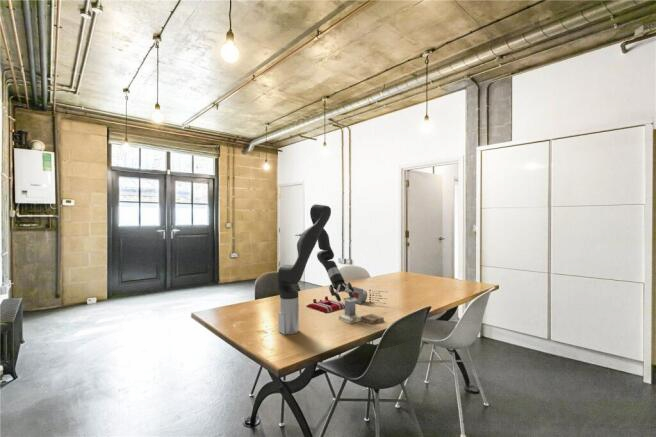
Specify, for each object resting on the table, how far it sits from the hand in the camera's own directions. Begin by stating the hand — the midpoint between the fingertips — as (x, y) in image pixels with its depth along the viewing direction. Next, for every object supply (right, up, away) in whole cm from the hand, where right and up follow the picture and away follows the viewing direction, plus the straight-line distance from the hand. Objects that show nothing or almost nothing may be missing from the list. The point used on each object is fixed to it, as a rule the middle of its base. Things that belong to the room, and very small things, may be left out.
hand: (346, 299), depth 182 cm
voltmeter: (+17, -11, +32) cm, 37 cm away
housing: (+2, -8, -3) cm, 9 cm away
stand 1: (+2, -10, -3) cm, 11 cm away
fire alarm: (-12, -11, +24) cm, 29 cm away
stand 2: (+14, -10, -4) cm, 18 cm away
